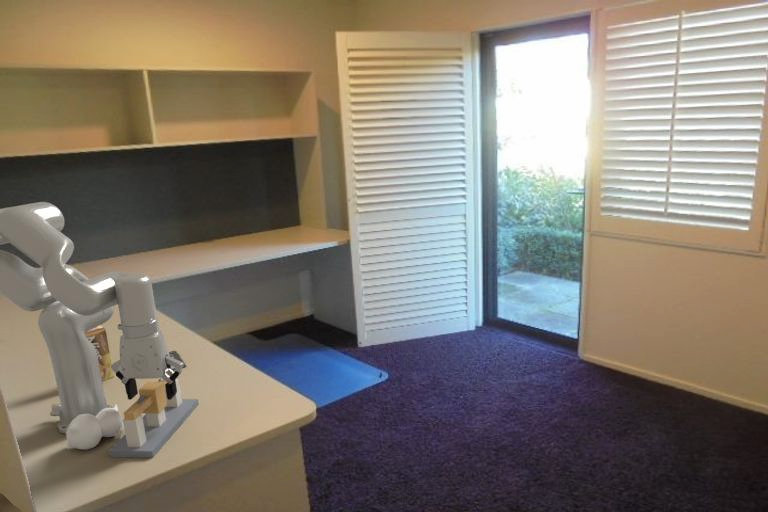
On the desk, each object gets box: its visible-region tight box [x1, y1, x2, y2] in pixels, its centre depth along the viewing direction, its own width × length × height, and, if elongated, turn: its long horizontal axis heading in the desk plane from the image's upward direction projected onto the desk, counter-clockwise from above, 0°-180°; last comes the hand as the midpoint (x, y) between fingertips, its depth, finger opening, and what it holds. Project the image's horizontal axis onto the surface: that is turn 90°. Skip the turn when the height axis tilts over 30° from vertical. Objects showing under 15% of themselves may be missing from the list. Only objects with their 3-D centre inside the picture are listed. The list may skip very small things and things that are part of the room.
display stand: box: [108, 378, 200, 458], centre depth 131 cm, size 10×23×8 cm, turn 174°
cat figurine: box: [65, 404, 125, 450], centre depth 126 cm, size 9×11×12 cm
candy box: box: [85, 325, 115, 382], centre depth 158 cm, size 9×4×15 cm, turn 137°
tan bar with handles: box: [123, 373, 179, 420], centre depth 130 cm, size 4×20×6 cm, turn 174°
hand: (152, 396), depth 130 cm, fingers open, 9 cm apart
